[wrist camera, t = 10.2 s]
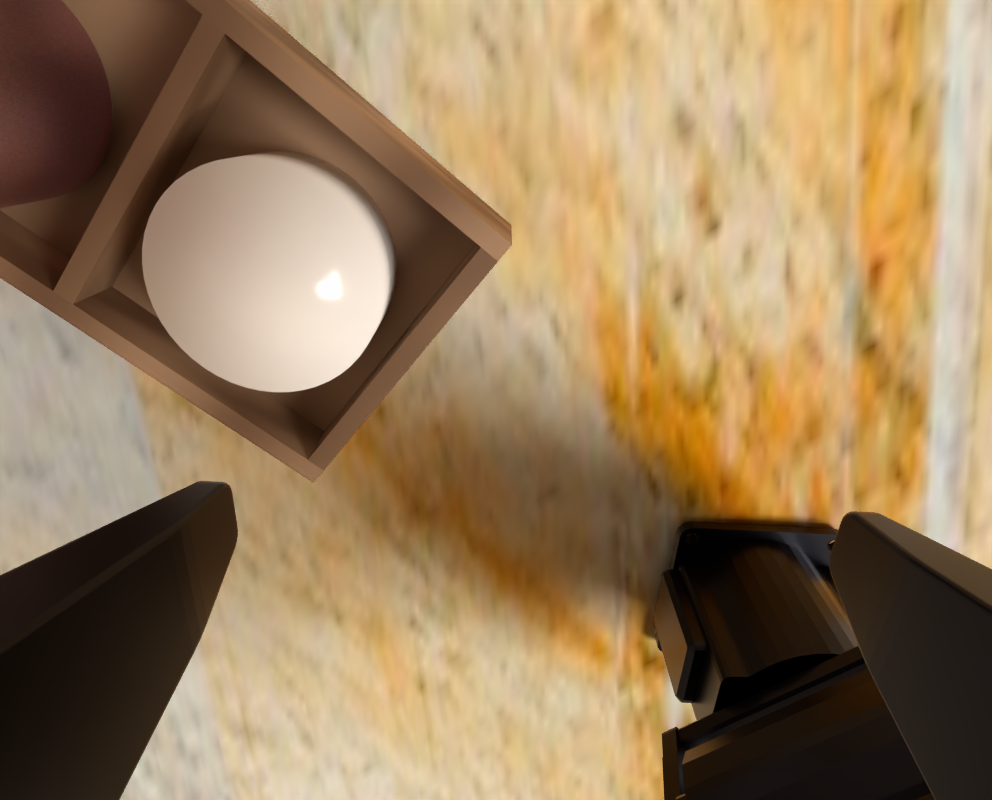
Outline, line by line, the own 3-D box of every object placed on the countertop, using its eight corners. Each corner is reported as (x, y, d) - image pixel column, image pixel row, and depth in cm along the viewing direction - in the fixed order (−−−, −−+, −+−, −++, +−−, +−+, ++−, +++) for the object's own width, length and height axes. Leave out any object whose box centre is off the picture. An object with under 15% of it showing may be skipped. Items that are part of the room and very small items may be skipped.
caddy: (511, 225, 20) (511, 244, 17) (337, 436, 24) (313, 482, 21) (-38, -248, 16) (-163, -329, 13) (-159, 97, 19) (-279, 95, 16)
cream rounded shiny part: (395, 156, 18) (377, 164, 16) (399, 362, 21) (384, 397, 18) (174, 144, 18) (119, 151, 16) (205, 352, 21) (164, 386, 18)
